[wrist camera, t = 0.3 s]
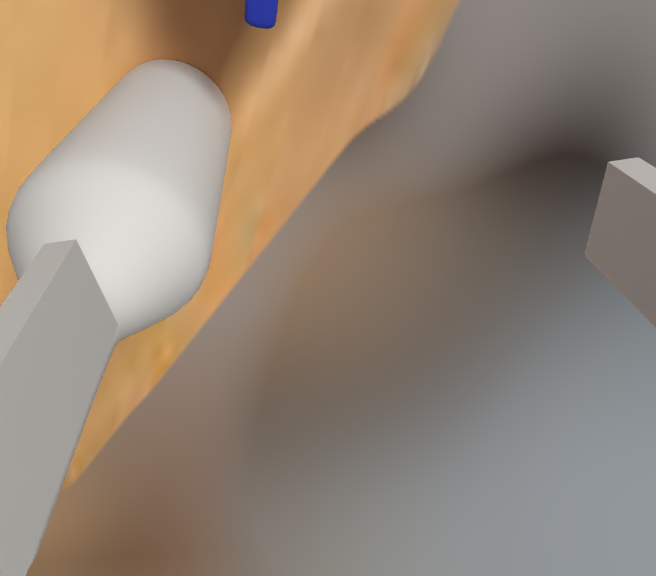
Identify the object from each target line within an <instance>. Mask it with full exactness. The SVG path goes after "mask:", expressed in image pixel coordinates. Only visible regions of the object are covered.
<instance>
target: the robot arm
mask: <svg viewBox="0 0 656 576" xmlns="http://www.w3.org/2000/svg"><path fill="white" fill-rule="evenodd" d="M585 256H586V257H587V258H588V259H589V260H590V261H591V262H592V263H593V264H594V265H595V266H596V267H597V268H598V269H599V270H600V271H601V273H602V274H603V275H604V276H605V277H607V279H609V281H610V282H612V284H613V285H614V286H616V288H617V289H618V290H619V291H620V292H621V293H622V294H623V295H624V296H625V297H626V298H627V299H628V300H629V301H630V302H631V303H632V304H633V305H634V306H635V307H636V308H637V309H638V310H639V311H640V312H641V313H642V314H643V315H644V316H645V317H646V318H647V319H648V320H649V321H650V322H651V323H652V324H653V325H654V326H655V327H656V168H655V167H653V166H652V165H650V164H648V163H647V162H645V161H643V160H642V159H640V158H632V159H626V160H618V161H611V162H608V165H607V169H606V173H605V176H604V181H603V184H602V188H601V192H600V196H599V200H598V204H597V208H596V211H595V215H594V219H593V223H592V227H591V231H590V235H589V239H588V243H587V247H586V250H585ZM117 326H118V323H117V321H116V319H115V317H114V315H113V313H112V311H111V309H110V307H109V305H108V303H107V301H106V299H105V297H104V295H103V293H102V291H101V289H100V287H99V285H98V283H97V281H96V279H95V276H94V274H93V272H92V270H91V268H90V266H89V264H88V262H87V260H86V258H85V256H84V254H83V252H82V250H81V248H80V246H79V244H78V242H77V240H76V239H74V240H67V241H60V242H53V243H46V244H44V245H43V246H42V248H41V249H40V251H39V252H38V254H37V255H36V256H35V258H34V259H33V261H32V262H31V264H30V265H29V266H28V268H27V269H26V271H25V272H24V274H23V275H22V277H21V278H20V279H19V281H18V282H17V284H16V285H15V287H14V288H13V289H12V291H11V292H10V294H9V295H8V297H7V298H6V299H5V301H4V302H3V304H2V305H1V307H0V576H26V573H27V570H28V568H29V565H30V562H31V560H32V557H33V554H34V551H35V549H36V546H37V543H38V541H39V538H40V535H41V532H42V530H43V527H44V524H45V522H46V519H47V516H48V513H49V511H50V508H51V505H52V503H53V500H54V497H55V494H56V492H57V489H58V486H59V484H60V481H61V478H62V475H63V473H64V470H65V467H66V465H67V462H68V459H69V456H70V454H71V451H72V448H73V446H74V443H75V440H76V437H77V435H78V432H79V429H80V427H81V424H82V421H83V418H84V416H85V413H86V410H87V408H88V405H89V402H90V399H91V397H92V394H93V391H94V389H95V386H96V383H97V380H98V378H99V375H100V372H101V370H102V367H103V364H104V361H105V359H106V356H107V353H108V351H109V348H110V345H111V342H112V340H113V337H114V334H115V332H116V329H117Z"/></svg>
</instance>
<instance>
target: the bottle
mask: <svg viewBox="0 0 656 576" xmlns="http://www.w3.org/2000/svg"><path fill="white" fill-rule="evenodd" d="M231 132H232V125H231V115H230V111H229V107H228V104H227V102H226V100H225V98H224V95H223V94H222V93H221V91H220V90H219V88H218V87H217V85H216V84H215V83H214V82H213V81H212V80H211V79H210V78H209V77H208V76H207V75H205V74H204V73H203V72H201V71H200V70H198V69H197V68H195V67H193V66H191V65H188V64H186V63H183V62H179V61H176V60H167V59H159V60H152V61H148V62H145V63H143V64H140V65H138V66H137V67H135V68H134V69H132V70H131V71H129V72H128V73H127V74H126V75H125V76H124V77H123V78H122V79H121V80H120V81H119V82H118V83H117V84H116V85H115V86H114V87H113V88H112V89H111V90H110V91H109V92H108V93H107V94H106V95H105V96H104V98H103V99H102V100H101V101H100V102H99V103H98V104H97V105H96V106H95V107H94V108H93V109H92V110H91V111H90V112H89V113H88V114H87V115H86V116H85V117H84V118H83V119H82V120H81V121H80V122H79V123H78V125H77V126H76V127H75V128H74V129H73V130H72V131H71V132H70V133H69V134H68V135H67V136H66V137H65V138H64V139H63V140H62V141H61V142H60V143H59V144H58V145H57V146H56V147H55V148H54V149H53V150H52V152H51V153H50V154H49V155H48V156H47V157H46V158H45V159H44V160H43V161H42V162H41V163H40V164H39V165H38V166H37V167H36V168H35V170H34V171H33V172H32V173H31V174H30V175H29V176H28V178H27V179H26V180H25V181H24V182H23V184H22V185H21V186H20V187H19V189H18V191H17V194H16V196H15V198H14V200H13V202H12V205H11V207H10V210H9V213H8V219H7V226H6V231H7V241H8V250H9V254H10V258H11V261H12V264H13V267H14V270H15V272H16V275H17V278H18V280H19V279H20V278H21V277H22V275H23V274H24V272H25V271H26V269H27V268H28V266H29V265H30V264H31V262H32V261H33V259H34V258H35V256H36V255H37V254H38V252H39V251H40V249H41V248H42V246H43V245H44V244H46V243H53V242H60V241H67V240H74V239H76V240H77V242H78V244H79V246H80V248H81V250H82V252H83V254H84V256H85V258H86V260H87V262H88V264H89V266H90V268H91V270H92V272H93V274H94V276H95V279H96V281H97V283H98V285H99V287H100V289H101V291H102V293H103V295H104V297H105V299H106V301H107V303H108V305H109V307H110V309H111V311H112V313H113V315H114V317H115V319H116V321H117V323H118V326H117V329H116V332H115V334H114V337H113V340H112V342H111V345H110V348H109V351H108V353H107V356H106V359H105V361H104V364H103V367H102V370H101V372H100V375H99V378H98V380H97V383H96V386H95V389H94V391H93V394H92V397H91V399H90V402H89V405H88V408H87V410H86V413H85V416H84V418H83V421H82V424H81V427H80V429H79V432H78V435H77V437H76V440H75V443H74V446H73V448H72V451H71V454H70V456H69V459H68V462H67V465H66V467H65V470H64V473H63V475H62V478H61V481H60V484H59V486H58V489H57V492H56V494H55V497H54V500H53V503H52V505H51V508H50V511H49V513H48V516H47V519H46V522H45V524H44V527H43V530H42V532H41V535H40V538H39V541H38V543H37V546H36V549H35V551H34V554H33V557H32V560H31V562H30V565H31V564H32V563H33V561H34V559H35V557H36V554H37V552H38V550H39V547H40V545H41V542H42V539H43V537H44V534H45V531H46V529H47V526H48V523H49V520H50V518H51V515H52V512H53V509H54V507H55V504H56V501H57V498H58V496H59V493H60V490H61V487H62V485H63V482H64V479H65V476H66V474H67V471H68V468H69V465H70V463H71V460H72V457H73V455H74V452H75V449H76V446H77V444H78V441H79V438H80V435H81V433H82V430H83V427H84V425H85V422H86V419H87V416H88V414H89V411H90V408H91V406H92V403H93V400H94V398H95V395H96V392H97V390H98V387H99V384H100V382H101V379H102V377H103V374H104V372H105V369H106V366H107V364H108V361H109V359H110V357H111V354H112V352H113V350H114V347H115V345H116V344H117V342H118V341H119V340H121V339H123V338H126V337H128V336H130V335H132V334H135V333H137V332H139V331H141V330H144V329H146V328H148V327H150V326H152V325H154V324H156V323H158V322H160V321H162V320H163V319H165V318H167V317H169V316H171V315H172V314H174V313H175V312H177V311H178V310H179V309H180V308H182V307H183V306H184V305H185V304H186V303H188V302H189V301H190V300H191V299H192V297H193V296H194V295H195V293H196V292H197V291H198V289H199V288H200V286H201V284H202V282H203V280H204V277H205V275H206V273H207V271H208V268H209V264H210V259H211V255H212V249H213V243H214V237H215V231H216V225H217V219H218V212H219V206H220V200H221V194H222V188H223V182H224V175H225V169H226V163H227V157H228V151H229V145H230V138H231ZM30 565H29V567H30Z"/></svg>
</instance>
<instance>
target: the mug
mask: <svg viewBox="0 0 656 576" xmlns="http://www.w3.org/2000/svg"><path fill="white" fill-rule="evenodd" d="M277 4H278V0H246V1H245V21H246V22H247V23H248V24H249V25H251V26H254V27H257V28H265V29H268V28H272V27H273V26H274V25H275V22H276V14H277Z"/></svg>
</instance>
